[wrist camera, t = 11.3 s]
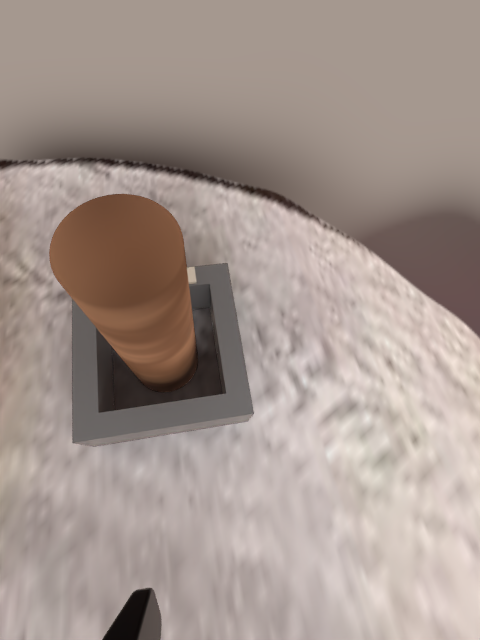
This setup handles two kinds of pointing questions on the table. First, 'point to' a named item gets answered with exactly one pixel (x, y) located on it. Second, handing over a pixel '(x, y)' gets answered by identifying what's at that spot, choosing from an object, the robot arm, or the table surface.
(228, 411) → the socket block
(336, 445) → the table surface
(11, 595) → the table surface
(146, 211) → the peg
